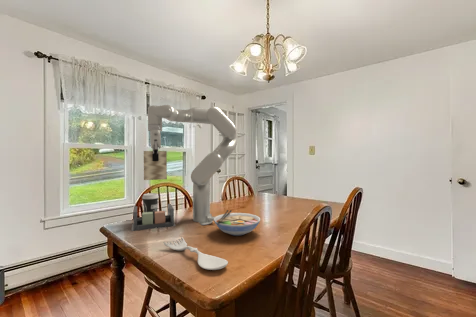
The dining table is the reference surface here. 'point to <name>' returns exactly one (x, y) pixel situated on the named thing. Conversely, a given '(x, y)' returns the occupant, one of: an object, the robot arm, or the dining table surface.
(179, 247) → the white spork utensil
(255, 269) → the dining table surface
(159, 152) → the birch sheet
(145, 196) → the coffee cup
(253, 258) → the dining table surface
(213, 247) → the dining table surface
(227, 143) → the robot arm
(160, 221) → the terracotta offcut
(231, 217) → the ramen bowl
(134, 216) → the offcut rack
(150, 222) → the sage offcut
